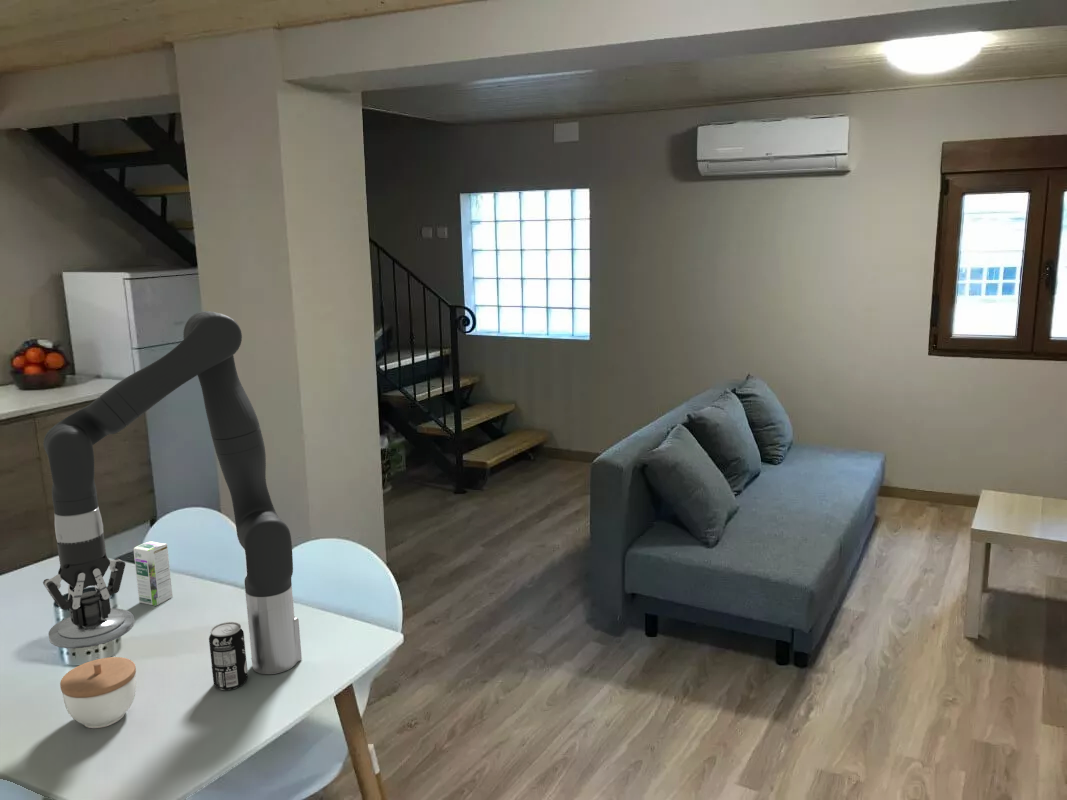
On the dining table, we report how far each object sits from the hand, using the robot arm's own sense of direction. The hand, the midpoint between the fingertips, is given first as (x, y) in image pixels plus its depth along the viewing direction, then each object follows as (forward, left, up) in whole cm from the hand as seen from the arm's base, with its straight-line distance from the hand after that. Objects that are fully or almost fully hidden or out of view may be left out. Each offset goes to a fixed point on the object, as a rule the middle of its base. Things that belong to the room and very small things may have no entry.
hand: (91, 620), depth 153 cm
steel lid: (0, 0, -2) cm, 2 cm away
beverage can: (-22, +7, -20) cm, 30 cm away
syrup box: (-29, -44, -20) cm, 56 cm away
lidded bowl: (0, 0, -20) cm, 20 cm away
